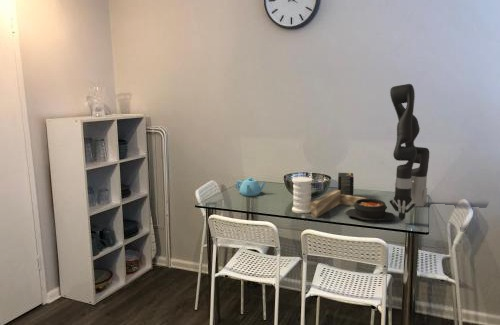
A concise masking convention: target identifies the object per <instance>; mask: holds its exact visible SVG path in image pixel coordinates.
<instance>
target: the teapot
mask: <svg viewBox="0 0 500 325" xmlns="http://www.w3.org/2000/svg"><path fill="white" fill-rule="evenodd" d="M266 183H267V181H263V182H262V183H261V185H260V183H259V181H258V180H257V179H253V177H247V179H244V180H239V179H238V180H237V181H236V183H235V187H234V188H235V189H236V190H238V192H239V194H240V195H241V196H243V197H256V196H259V195H260V194H261V192H262V191H263V189H264V186H265V184H266ZM240 184H241V185H240ZM239 185H240V186H239Z"/></svg>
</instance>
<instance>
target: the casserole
mask: <svg viewBox="0 0 500 325" xmlns="http://www.w3.org/2000/svg"><path fill="white" fill-rule="evenodd" d="M387 209H388V206H387V205H386V202H385V201H383V200H380V199H377V198H368V199H360V200H357V201H356V202H355V204H354V206H353V208H350V209H347V210H346V211H345V215H346V216H349V217H352V218H356V219H358V220H363V221H367V222H376V221H392V220H393V219H395V218H396V215H395V213H393V212H389V211H386V210H387Z"/></svg>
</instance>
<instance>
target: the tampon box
mask: <svg viewBox="0 0 500 325" xmlns="http://www.w3.org/2000/svg"><path fill="white" fill-rule="evenodd" d="M354 177H355V176H354V173H353V172H338V175H337V190H341V194H340V195H342V194H344V195H350V196H354V181H355V180H354Z"/></svg>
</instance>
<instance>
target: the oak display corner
mask: <svg viewBox="0 0 500 325" xmlns="http://www.w3.org/2000/svg"><path fill="white" fill-rule="evenodd" d="M340 194H341V190H338V189H334V190H332V191H330V192H329V193H326V194H325V195H322V196H321V197H319V198H317V199H315V200H313V201H311V212H310V213H311V215H310V216H312V217H311V218H315V217H316V218H319V217H320V216H322V215H323V214H325V213H327V212H328V211H330V210H331V209H334V208H335V207H337V206H338V205H345V206H352V207H354V204H355V202H356V201H357V200H360V199H369V198H368V197H363V196H355V195H353V196H350V195H344V194H342V195H340ZM316 218H315V219H316Z"/></svg>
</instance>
